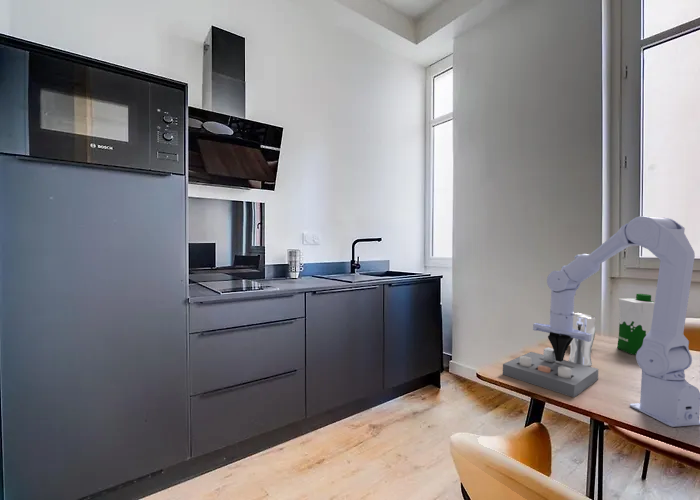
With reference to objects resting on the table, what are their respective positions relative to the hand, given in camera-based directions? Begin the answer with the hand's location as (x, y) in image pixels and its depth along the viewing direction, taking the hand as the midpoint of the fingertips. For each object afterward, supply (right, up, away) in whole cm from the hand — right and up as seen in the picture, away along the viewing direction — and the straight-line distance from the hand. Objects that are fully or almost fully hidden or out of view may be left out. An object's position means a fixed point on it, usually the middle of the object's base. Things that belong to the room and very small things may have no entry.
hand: (559, 360), depth 102 cm
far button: (-10, -2, -1) cm, 11 cm away
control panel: (-4, -4, -2) cm, 6 cm away
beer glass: (+12, -4, +10) cm, 16 cm away
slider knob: (-2, -1, +2) cm, 3 cm away
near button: (-4, -3, -9) cm, 10 cm away
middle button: (-7, -4, -5) cm, 9 cm away
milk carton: (+39, -4, +23) cm, 46 cm away
